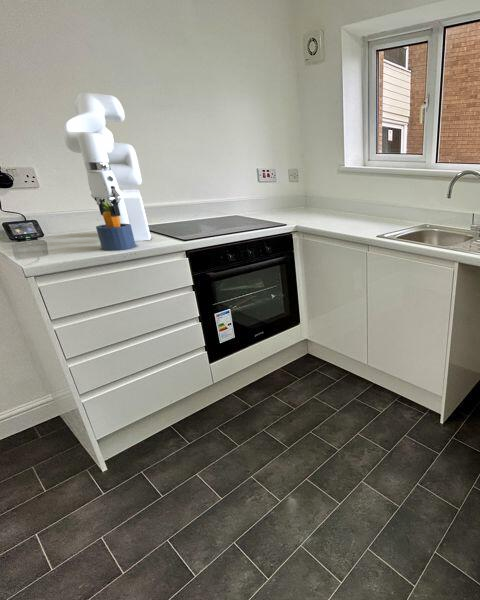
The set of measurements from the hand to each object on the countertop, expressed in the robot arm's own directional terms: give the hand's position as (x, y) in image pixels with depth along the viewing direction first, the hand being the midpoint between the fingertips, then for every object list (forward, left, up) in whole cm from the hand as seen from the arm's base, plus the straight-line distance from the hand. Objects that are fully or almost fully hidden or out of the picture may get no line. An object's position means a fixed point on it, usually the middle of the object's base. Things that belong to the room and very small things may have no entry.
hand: (110, 215), depth 141 cm
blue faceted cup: (0, 0, -13) cm, 13 cm away
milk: (-15, -6, -14) cm, 21 cm away
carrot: (0, 0, -10) cm, 10 cm away
